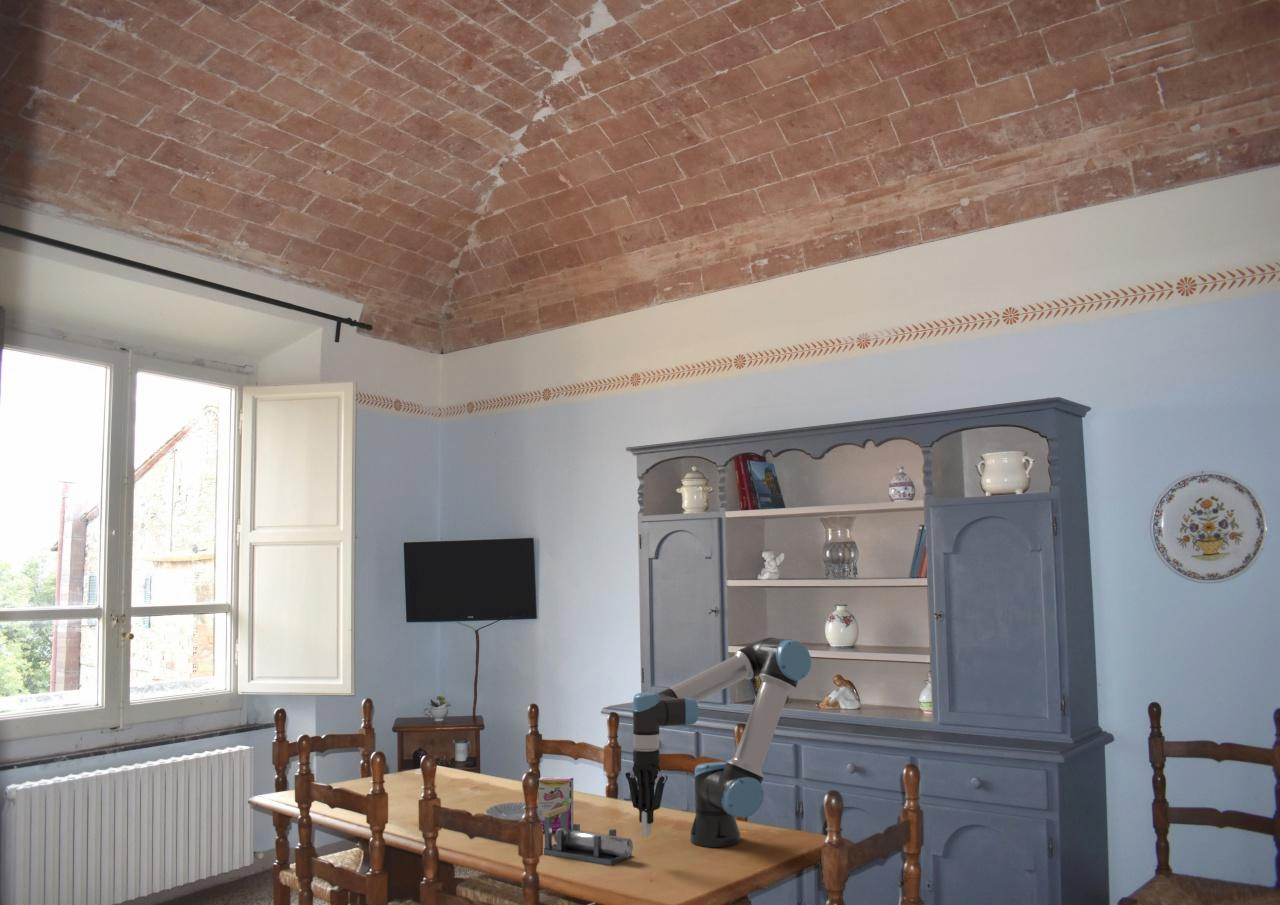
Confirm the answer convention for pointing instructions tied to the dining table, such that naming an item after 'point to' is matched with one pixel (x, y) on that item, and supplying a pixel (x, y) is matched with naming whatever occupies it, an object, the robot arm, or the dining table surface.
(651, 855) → the dining table surface
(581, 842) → the tube
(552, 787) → the candy bar box
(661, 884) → the dining table surface
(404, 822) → the dining table surface
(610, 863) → the collar board
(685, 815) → the dining table surface
